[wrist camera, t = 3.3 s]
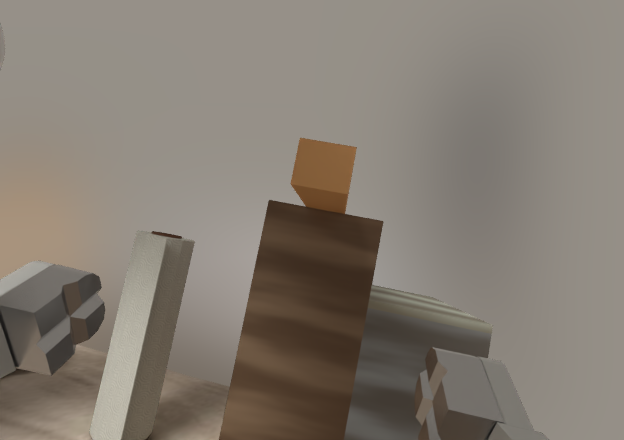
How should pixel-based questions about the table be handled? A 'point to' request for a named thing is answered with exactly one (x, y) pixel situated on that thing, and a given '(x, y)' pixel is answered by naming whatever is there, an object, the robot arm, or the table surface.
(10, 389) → the table surface
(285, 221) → the stepped stand
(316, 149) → the batten
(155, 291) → the paper towel roll
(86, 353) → the table surface
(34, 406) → the table surface
